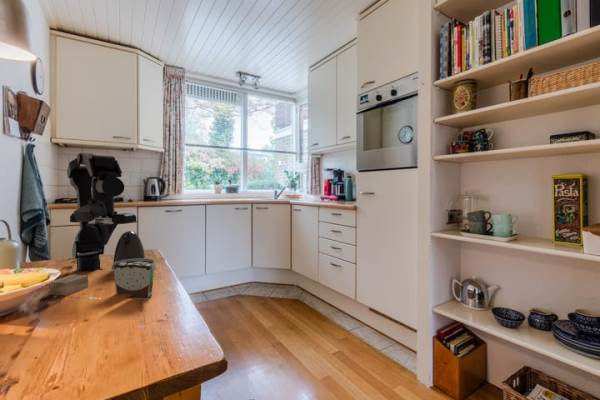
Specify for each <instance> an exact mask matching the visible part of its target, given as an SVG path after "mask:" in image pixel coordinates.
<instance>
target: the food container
mask: <svg viewBox="0 0 600 400" xmlns="http://www.w3.org/2000/svg"><path fill="white" fill-rule="evenodd" d="M157 267H158V266H157V264H156V262H155V260H154V259H152V258H137V259H127V260H121V261H117V262H113V261H112V265H111V268H110V269H111V271H113V277H114V285H115V294H116V295H130V296H128V297H126V299H133V300H134V299H135V300H150V299H151V298H152V296H153V285H154V275H155V271H156V270H157Z"/></svg>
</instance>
